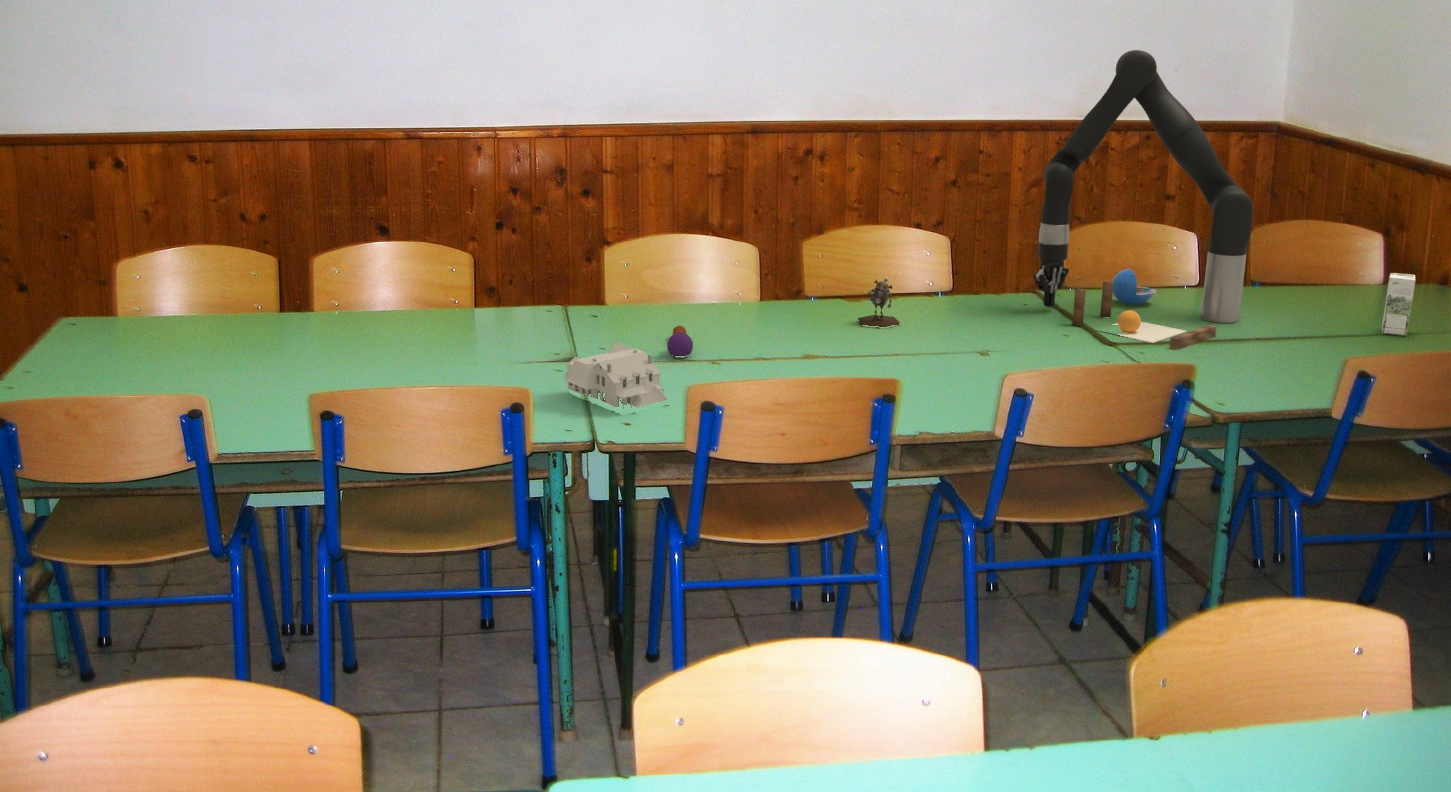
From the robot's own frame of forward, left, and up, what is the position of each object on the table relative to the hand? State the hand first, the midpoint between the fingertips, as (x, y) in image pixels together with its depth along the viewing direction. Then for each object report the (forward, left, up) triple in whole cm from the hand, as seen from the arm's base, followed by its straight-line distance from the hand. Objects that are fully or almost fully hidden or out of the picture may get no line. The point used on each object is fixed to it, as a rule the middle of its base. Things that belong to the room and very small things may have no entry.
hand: (1048, 306), depth 361 cm
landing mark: (0, +27, -2) cm, 27 cm away
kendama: (+95, -38, -2) cm, 102 cm away
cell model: (-24, +10, -2) cm, 26 cm away
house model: (+129, -16, -2) cm, 130 cm away
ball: (+3, +25, +1) cm, 26 cm away
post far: (-6, +13, -2) cm, 15 cm away
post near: (+6, +13, -2) cm, 15 cm away
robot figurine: (+42, -22, -2) cm, 47 cm away
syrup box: (-45, +70, -2) cm, 83 cm away
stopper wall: (0, +41, -2) cm, 41 cm away
